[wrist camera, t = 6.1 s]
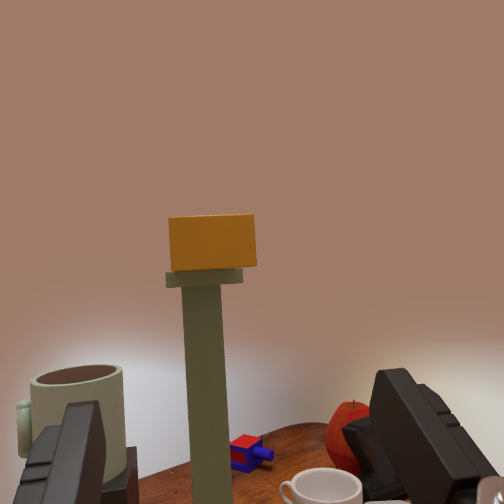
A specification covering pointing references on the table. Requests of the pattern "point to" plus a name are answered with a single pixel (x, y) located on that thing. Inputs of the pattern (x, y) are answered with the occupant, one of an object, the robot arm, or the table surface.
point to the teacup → (323, 487)
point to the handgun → (372, 462)
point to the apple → (336, 439)
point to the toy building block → (248, 453)
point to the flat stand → (206, 381)
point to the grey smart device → (388, 502)
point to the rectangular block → (212, 242)
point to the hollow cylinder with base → (112, 411)
